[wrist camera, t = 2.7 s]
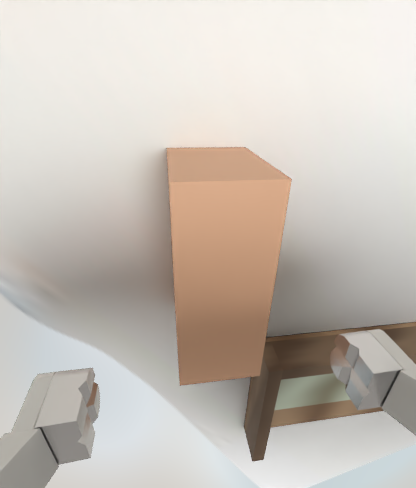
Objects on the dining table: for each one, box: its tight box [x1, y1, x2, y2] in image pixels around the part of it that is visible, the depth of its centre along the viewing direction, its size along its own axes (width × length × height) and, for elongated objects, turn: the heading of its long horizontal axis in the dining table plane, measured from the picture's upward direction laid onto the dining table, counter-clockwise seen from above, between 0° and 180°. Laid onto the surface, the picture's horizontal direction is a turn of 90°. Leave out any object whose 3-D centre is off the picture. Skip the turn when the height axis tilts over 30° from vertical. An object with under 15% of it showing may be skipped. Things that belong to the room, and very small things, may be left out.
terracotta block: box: [167, 147, 292, 386], centre depth 14 cm, size 4×10×6 cm, turn 179°
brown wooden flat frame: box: [244, 322, 416, 461], centre depth 24 cm, size 16×12×3 cm
